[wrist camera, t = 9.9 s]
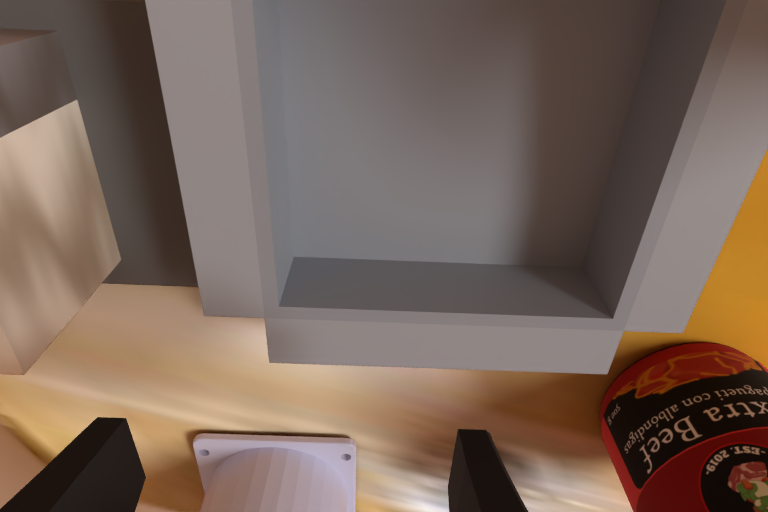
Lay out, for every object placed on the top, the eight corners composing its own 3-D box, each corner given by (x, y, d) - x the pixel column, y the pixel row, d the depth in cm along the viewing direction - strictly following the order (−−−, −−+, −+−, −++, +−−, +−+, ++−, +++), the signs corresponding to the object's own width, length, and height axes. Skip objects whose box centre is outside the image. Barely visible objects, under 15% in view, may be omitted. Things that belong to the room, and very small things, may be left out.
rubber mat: (209, 279, 20) (205, 286, 20) (-44, 270, 20) (-53, 277, 20) (161, 0, 15) (155, 2, 14) (-183, -15, 15) (-200, -14, 14)
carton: (623, 315, 21) (663, 376, 18) (237, 300, 21) (212, 360, 18) (810, -192, 13) (942, -235, 10) (164, -226, 12) (92, -281, 9)
